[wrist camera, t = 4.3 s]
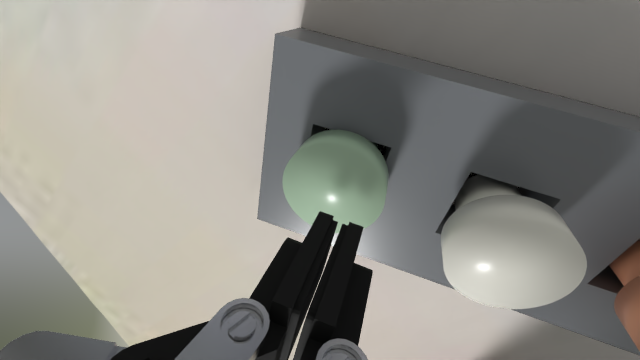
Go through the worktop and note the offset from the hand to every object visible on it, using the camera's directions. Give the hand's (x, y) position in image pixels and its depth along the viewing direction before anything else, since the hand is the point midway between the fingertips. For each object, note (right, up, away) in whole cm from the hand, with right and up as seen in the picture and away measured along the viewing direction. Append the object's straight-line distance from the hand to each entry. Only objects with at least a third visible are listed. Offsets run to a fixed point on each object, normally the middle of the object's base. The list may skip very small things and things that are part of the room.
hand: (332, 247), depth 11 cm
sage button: (+1, +4, +5) cm, 7 cm away
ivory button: (+8, +2, +3) cm, 8 cm away
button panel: (+8, +2, +5) cm, 10 cm away
